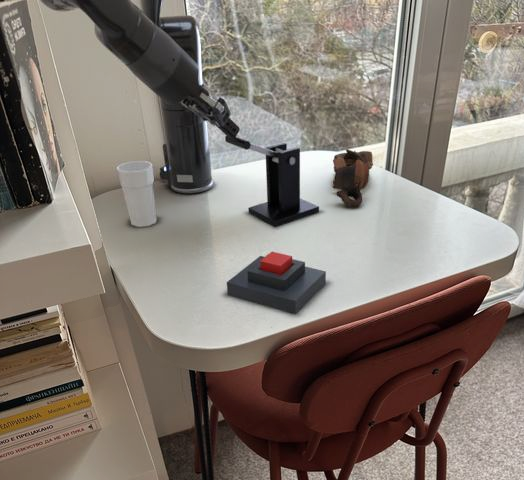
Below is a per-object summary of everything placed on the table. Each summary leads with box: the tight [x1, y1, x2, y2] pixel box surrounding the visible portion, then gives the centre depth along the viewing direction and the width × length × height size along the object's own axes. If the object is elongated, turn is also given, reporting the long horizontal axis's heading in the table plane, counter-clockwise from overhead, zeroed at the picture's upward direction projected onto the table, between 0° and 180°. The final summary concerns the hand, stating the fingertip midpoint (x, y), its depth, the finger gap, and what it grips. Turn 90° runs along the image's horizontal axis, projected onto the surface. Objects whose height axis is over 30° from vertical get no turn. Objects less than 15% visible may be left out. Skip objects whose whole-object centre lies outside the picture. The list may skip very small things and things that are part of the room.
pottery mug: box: [332, 148, 370, 209], centre depth 112 cm, size 12×10×8 cm
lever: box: [224, 135, 283, 163], centre depth 101 cm, size 13×6×2 cm, turn 124°
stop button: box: [260, 251, 293, 275], centre depth 84 cm, size 4×4×2 cm
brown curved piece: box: [333, 150, 374, 173], centre depth 121 cm, size 15×3×8 cm
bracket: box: [248, 142, 320, 228], centre depth 107 cm, size 11×9×13 cm
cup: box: [116, 160, 157, 228], centre depth 107 cm, size 7×7×11 cm
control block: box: [226, 254, 327, 314], centre depth 85 cm, size 12×10×4 cm
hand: (234, 133), depth 96 cm, fingers closed
